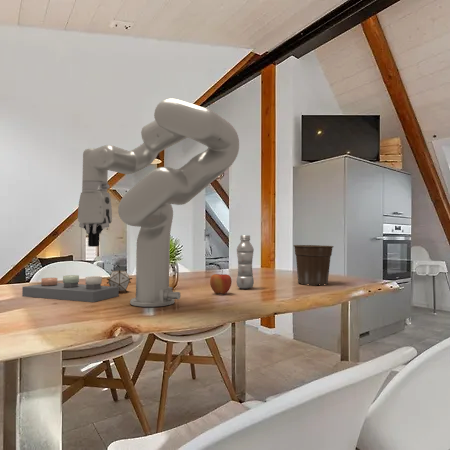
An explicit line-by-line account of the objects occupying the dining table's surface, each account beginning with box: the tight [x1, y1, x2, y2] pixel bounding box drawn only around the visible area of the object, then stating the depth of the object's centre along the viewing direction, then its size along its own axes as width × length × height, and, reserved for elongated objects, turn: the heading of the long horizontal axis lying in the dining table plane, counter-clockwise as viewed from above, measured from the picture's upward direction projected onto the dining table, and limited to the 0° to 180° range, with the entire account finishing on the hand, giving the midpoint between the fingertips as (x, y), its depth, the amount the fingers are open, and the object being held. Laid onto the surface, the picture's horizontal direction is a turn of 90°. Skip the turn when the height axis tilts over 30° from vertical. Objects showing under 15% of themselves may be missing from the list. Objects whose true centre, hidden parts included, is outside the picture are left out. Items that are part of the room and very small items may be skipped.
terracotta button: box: [40, 277, 58, 286], centre depth 122 cm, size 5×5×5 cm
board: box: [21, 282, 120, 303], centre depth 119 cm, size 28×12×3 cm, turn 70°
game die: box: [106, 268, 133, 293], centre depth 128 cm, size 9×8×10 cm
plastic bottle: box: [236, 234, 255, 290], centre depth 138 cm, size 6×7×20 cm
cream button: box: [84, 275, 103, 290], centre depth 116 cm, size 5×5×5 cm
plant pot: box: [293, 244, 334, 286], centre depth 154 cm, size 16×16×16 cm
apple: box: [209, 270, 232, 295], centre depth 125 cm, size 7×7×8 cm
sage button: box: [62, 274, 80, 288], centre depth 119 cm, size 5×5×5 cm
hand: (93, 246), depth 116 cm, fingers closed
